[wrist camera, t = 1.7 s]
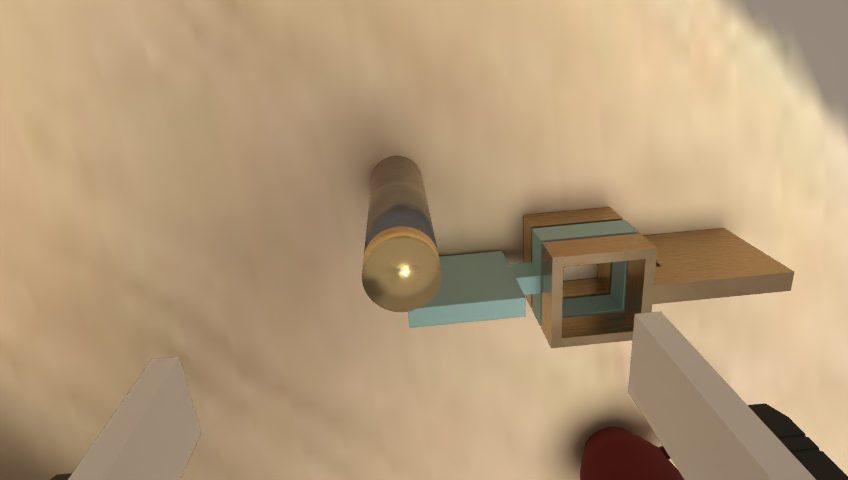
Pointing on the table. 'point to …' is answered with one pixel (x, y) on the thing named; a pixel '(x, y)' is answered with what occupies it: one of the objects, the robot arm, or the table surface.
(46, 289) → the table surface
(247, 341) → the table surface
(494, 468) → the table surface
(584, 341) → the square hinge knuckle
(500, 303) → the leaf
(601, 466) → the mug
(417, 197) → the pin
